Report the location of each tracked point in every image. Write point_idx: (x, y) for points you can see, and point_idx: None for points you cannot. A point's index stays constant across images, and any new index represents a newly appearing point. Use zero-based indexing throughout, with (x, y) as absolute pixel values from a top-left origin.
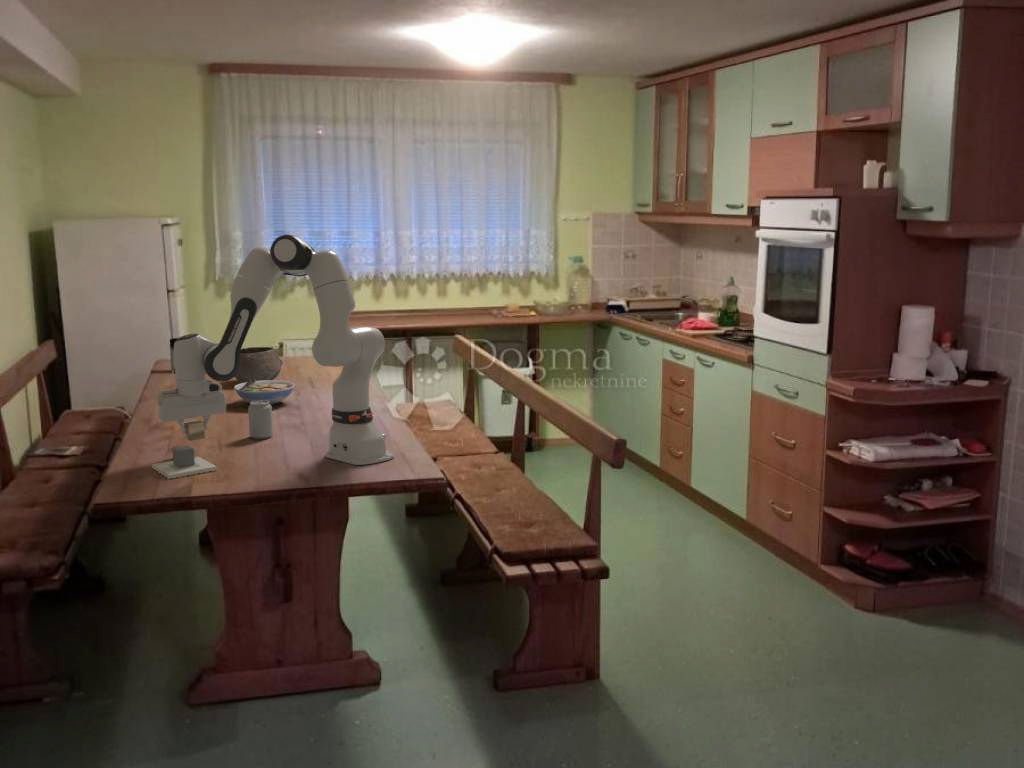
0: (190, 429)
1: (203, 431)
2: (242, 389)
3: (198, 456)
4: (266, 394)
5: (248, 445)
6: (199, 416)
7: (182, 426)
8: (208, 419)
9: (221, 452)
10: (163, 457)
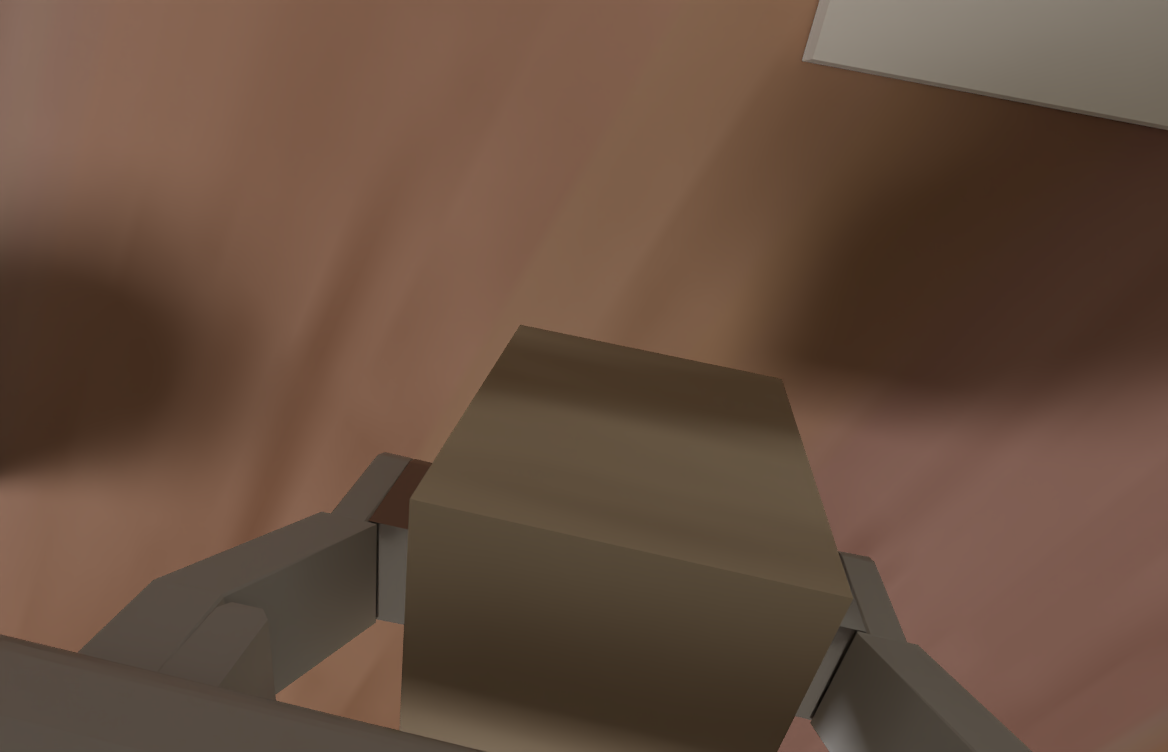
0: (798, 496)
1: (506, 382)
2: None
3: (814, 55)
4: None
5: (34, 224)
6: (427, 739)
7: (936, 678)
8: (209, 577)
9: (386, 192)
10: (945, 507)
